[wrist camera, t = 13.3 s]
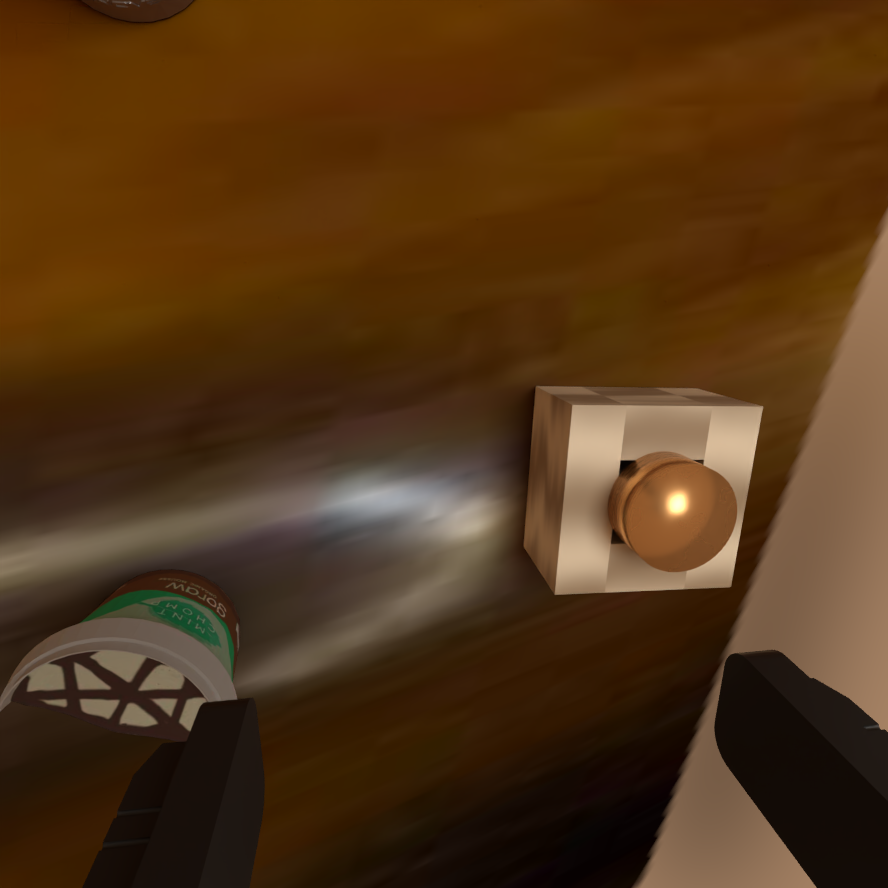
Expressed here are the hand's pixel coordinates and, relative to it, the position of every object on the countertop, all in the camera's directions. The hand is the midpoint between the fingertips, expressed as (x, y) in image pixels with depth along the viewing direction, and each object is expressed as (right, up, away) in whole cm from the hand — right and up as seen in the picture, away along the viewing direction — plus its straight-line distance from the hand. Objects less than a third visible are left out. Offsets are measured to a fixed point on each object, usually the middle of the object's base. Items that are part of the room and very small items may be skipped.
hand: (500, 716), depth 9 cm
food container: (-19, -6, +30) cm, 36 cm away
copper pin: (+11, +3, +31) cm, 33 cm away
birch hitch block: (+11, +3, +32) cm, 34 cm away
